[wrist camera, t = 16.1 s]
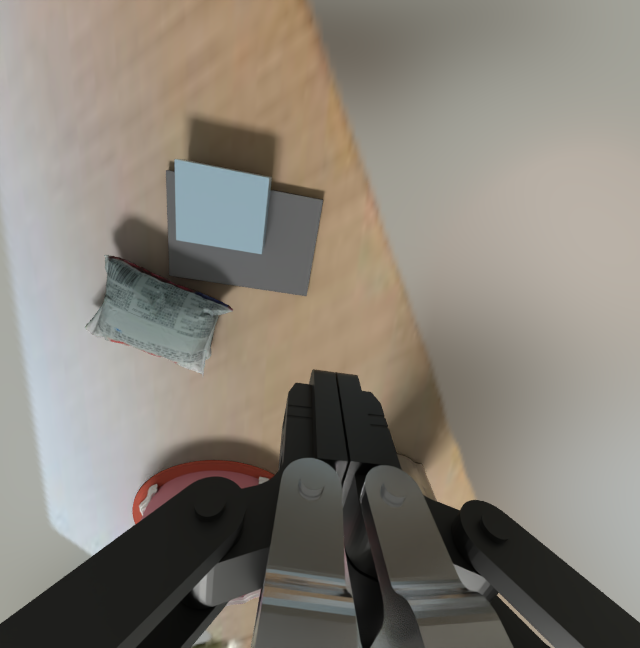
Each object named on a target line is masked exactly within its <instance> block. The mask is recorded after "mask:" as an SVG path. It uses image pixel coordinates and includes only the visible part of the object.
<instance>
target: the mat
mask: <svg viewBox="0 0 640 648" xmlns="http://www.w3.org/2000/svg"><path fill="white" fill-rule="evenodd" d="M166 187H167V217H168V247H169V276H175V277H182V278H189V279H195V280H202V281H209V282H215V283H222V284H229V285H235V286H242V287H249V288H255V289H262V290H269V291H275V292H282V293H289V294H295V295H302V296H307V290H308V284H309V278H310V273H311V267H312V261H313V255H314V250H315V244H316V238H317V232H318V227H319V221H320V215H321V209H322V204H323V200H322V199H317V198H311V197H306V196H301V195H296V194H290V193H285V192H280V191H275V190H270V199H269V209H268V219H267V228H266V238H265V247H264V250H263V252H262V254H257V253H251V252H245V251H239V250H233V249H227V248H221V247H215V246H209V245H203V244H197V243H191V242H185V241H179V240H176V206H175V171H170V170H166Z"/></svg>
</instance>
